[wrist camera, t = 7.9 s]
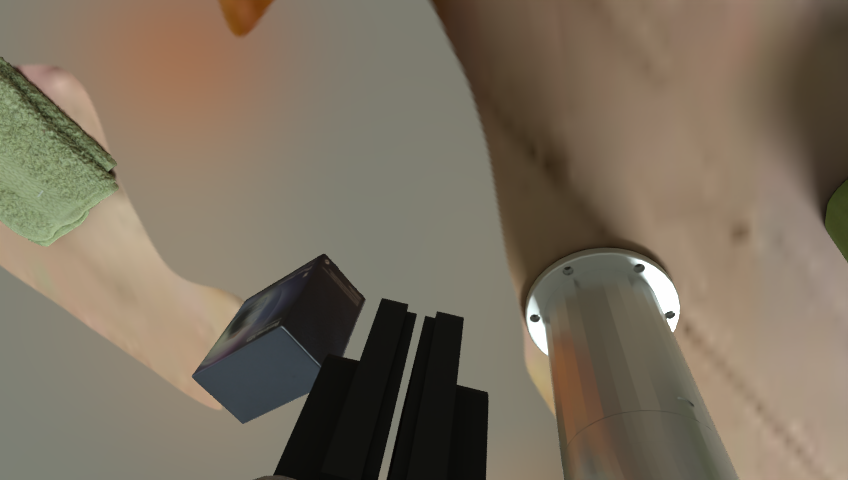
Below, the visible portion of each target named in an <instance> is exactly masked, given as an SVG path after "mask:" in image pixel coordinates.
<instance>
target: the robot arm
mask: <svg viewBox="0 0 848 480" xmlns="http://www.w3.org/2000/svg"><path fill="white" fill-rule="evenodd" d="M407 309H408V304H405V303H400V302H396V301H392V300H388V299H383V298H382V300H381V302H380V305H379V308H378V311H377V314H376V316H375V319H374V322H373V325H372V328H371V331H370V333H369V336H368V339H367V342H366V344H365V347H364V350H363V353H362V356H361V359H360V361H357V360H353V359H348V358H344V357H340V356H336V355H332V354H328V355H327V356H326V357H325V359H324V361H323V364H322V366H321V368H320V370H319V373H318V375H317V377H316V379H315V382H314V384H313V386H312V388H311V391H310V393H309V395H308V398H307V400H306V402H305V404H304V407H303V409H302V411H301V414H300V416H299V418H298V420H297V422H296V425H295V427H294V429H293V431H292V434H291V436H290V438H289V440H288V443H287V445H286V447H285V450H284V452H283V454H282V456H281V459H280V461H279V463H278V465H277V468H276V470H275V472H274V474H273V476H263V477H260V478H257V479H254V480H378V477H379V472H380V468H381V464H382V459H383V456H384V452H385V447H386V443H387V439H388V435H389V431H390V427H391V422H392V418H393V414H394V409H395V405H396V401H397V397H398V392H399V388H400V384H401V380H402V375H403V371H404V367H405V363H406V358H407V354H408V349H409V346H410V341H411V337H412V332H413V328H414V324H415V320H416V315H417V314H415V313H411V312H407ZM679 313H680V302H679V296H678V293H677V291H676V288H675V286H674V284H673V282H672V280H671V279H670V277H669V276H668V274H667V273H666V272H665V271H664V270H663V269H662V268H661V267H660V266H659V265H658V264H657V263H656V262H654V261H652V260H651V259H649V258H648V257H646V256H644V255H641V254H639V253H636V252H633V251H630V250H624V249H619V248H595V249H587V250H583V251H580V252H576V253H573V254H570V255H568V256H566V257H564V258H562V259H560V260H558V261H556V262H555V263H554V264H552V265H551V266H549V267H548V268H547V269H546V270H545V271H544V272H543V273H542V274H541V275H540V276H539V277H538V278H537V279H536V281H535V282H534V284H533V285H532V287H531V289H530V291H529V294H528V296H527V299H526V306H525V318H526V324H527V329H528V332H529V334H530V336H531V338H532V340H533V342H534V343H535V344H536V345H537V347H538V348H539V349H540V350H541V351H542V352H543V353H545V354H546V355H547V356H548V357H549V366H550V374H551V382H552V390H553V398H554V406H555V414H556V422H557V429H558V438H559V446H560V454H561V462H562V469H563V475H564V480H739V477H738V475H737V473H736V471H735V469H734V466H733V464H732V462H731V460H730V458H729V455H728V453H727V451H726V449H725V447H724V445H723V443H722V441H721V439H720V436H719V434H718V432H717V430H716V428H715V425H714V423H713V421H712V419H711V416H710V414H709V412H708V410H707V407H706V405H705V403H704V401H703V398H702V396H701V394H700V392H699V390H698V387H697V385H696V383H695V381H694V378H693V376H692V374H691V372H690V369H689V367H688V365H687V363H686V361H685V358H684V356H683V354H682V352H681V349H680V347H679V345H678V343H677V340H676V338H675V336H674V334H673V331H674V330H675V328H676V325H677V322H678V319H679ZM463 321H464V318H463V317H459V316H455V315H450V314H447V313H442V312H437V314H436V317H435V318H432V317H428V316H425V319H424V323H423V327H422V331H421V336H420V340H419V344H418V348H417V352H416V356H415V360H414V364H413V368H412V372H411V377H410V380H409V384H408V389H407V393H406V397H405V401H404V405H403V409H402V413H401V418H400V422H399V426H398V431H397V436H396V440H395V445H394V449H393V453H392V458H391V462H390V467H389V471H388V476H387V480H486V459H487V430H488V393H487V392H484V391H480V390H476V389H472V388H468V387H464V386H460V385H457V375H458V367H459V358H460V348H461V340H462V330H463Z"/></svg>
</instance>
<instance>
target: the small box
mask: <svg viewBox="0 0 848 480" xmlns="http://www.w3.org/2000/svg"><path fill="white" fill-rule="evenodd" d="M364 304H365V298H364V297H363V295H362V294H361V293H359V292H358V290H357V289H356V288H355V287H354V286H353V285H352V284H351V283H350V282H349V280H348V279H347V278H346V277H345V276H344V274H343V273H342V272H341V271H340V270H339V268H338V267H337V266H336V265H335V264H334V263H333V262H332V261H331V260H330V259H329V258H328V256H327V255H326V254H322V255H320V256H318V257H317V258H315V259H313V260H312V261H310V262H308V263H307V264H305V265H303V266H302V267H300V268H299V269H297V270H295V271H294V272H292V273H290V274H289V275H287V276H285V277H284V278H282V279H280V280H278V281H277V282H275V283H273V284H272V285H270V286H269V287H267V288H265V289H264V290H262V291H260V292H259V293H257V294H255V295H254V296H252V297H250V298H249V299H247V300H246V301H245V302H244V304H243V305H242V306H241V308H240V309H239V311H238V312H237V314H236V315H235V317H234V318H233V319H232V321H231V322H230V324H229V325H228V326H227V328H226V329H225V331H224V332H223V333H222V335H221V336H220V338H219V339H218V340H217V342H216V343H215V345H214V346H213V347H212V349H211V350H210V352H209V353H208V354H207V356H206V357H205V359H204V360H203V361H202V363H201V364H200V365H199V367H198V368H197V370H196V371H195V373H194V374H193V375H192V378H193V379H194V380H195V381H196V382H197V383H198V384H199V385H201V386H202V387H203V388H204V389H205V390H206V391H207V392H208V393H209V394H210V395H212V396H213V397H214V398H215V399H216V400H217V401H218V402H219V403H221V404H222V405H223V406H224V407H225V408H226V409H227V410H228V411H229V412H231V413H232V414H233V415H234V416H235V417H236V418H237V419H238V420H239V421H240V422H241V423H242V424H244V423H246V422H248V421H250V420H253V419H255V418H257V417H259V416H261V415H263V414H265V413H267V412H269V411H271V410H274V409H276V408H278V407H280V406H282V405H284V404H286V403H289V402H291V401H293V400H295V399H297V398H299V397H301V396H303V395H305V394H308V393H310V391H311V388H312V386H313V384H314V382H315V379H316V377H317V375H318V373H319V370H320V368H321V366H322V364H323V361H324V359H325V357H326V356H327V355H328V354H332V355H336V356H340V357H343V355H344V353H345V350H346V348H347V345H348V343H349V340H350V336H351V335H352V332H353V329H354V327H355V325H356V322H357V319H358V317H359V314H360V313H361V310H362V307H363V306H364Z"/></svg>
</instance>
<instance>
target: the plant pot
mask: <svg viewBox="0 0 848 480" xmlns="http://www.w3.org/2000/svg"><path fill="white" fill-rule="evenodd" d="M825 227H826V230H827V232H828V234H829V235H830V237H831V238H832V240H833V241H834V243H835V244H836V246H837V247H838V249H839V250H840V252H841V253H842V255H843V256H844V258H845V259H846V261H847V262H848V179H847V180H846V181H845V182H844V183H843V184H842V185H841V186H840V187H839V188H838V189H837V190H836V191H835V193H834V194H833V195H832V197H831V198H830V200H829V202H828V205H827V212H826V220H825Z"/></svg>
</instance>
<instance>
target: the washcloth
mask: <svg viewBox="0 0 848 480" xmlns="http://www.w3.org/2000/svg"><path fill="white" fill-rule="evenodd" d="M115 166H117V163H116V161H115V160H114V159H113V158H111V155H110V154H107V153H106V152H105V151H103V150H102V149H101V147H100V146H99V145H98V144H96V142H95V141H94V140H92V139H91V138H90V137H88V136H87V135H86V134H84V133H83V131H82V130H81V129H80V128H79V127H78V126H77V125H76V124H75V123H74V122H72V121H71V120H70V119H69V118H68V117H66V116H65V115H64V114H63V113H62V112H60V111H59V109H58V108H57V107H56V105H54V104H52V103H51V102H50V101H49V100H48V98H47V97H45V96H43V94H42V93H40V92H39V91H38V90H37V89H36V88H35V87H34V86H31V83H30V82H28V81H27V80H26V79H25V78H24V77H23V76H22V75H21V74H19V73H18V72H16V70H15V69H14V68H13V67H11V65H10V63H7V62H6V61H4V59H3V57H0V220H1V221H2V222H3V223H4V224H5V225H6V226H8V227H9V228H10V229H11V230H13V231H14V232H16V233H17V234H19V235H21V236H23V237H25V238H28V240H30V241H33V242H34V243H36V244H39V245H41V246H46V247H48V246H49V245H50V244H51V243H53V242H54V241H55V240H57V239H58V238H59V237H61V236H63V235H65V234H67V233H68V232H70V231H71V230H72V229H74V228H76V227H77V226H79V225H80V224H82V222H83V221H84V220H85V219H86V217H87V216H88V214H89V210H90V209H91V208H93V207H94V206H95V205H97V204H98V203H99V202H100V201H101V200H103V199H104V198H106V197H108V196H109V195H111V194H113V193H114V192H115V191H117V190H118V189H119V187H118V185H117V184H116V183H115V181H116V180H115V178H114V176H112V175H111V174H109V173H108V171H109V170H111V169H112V168H113V167H115Z"/></svg>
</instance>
